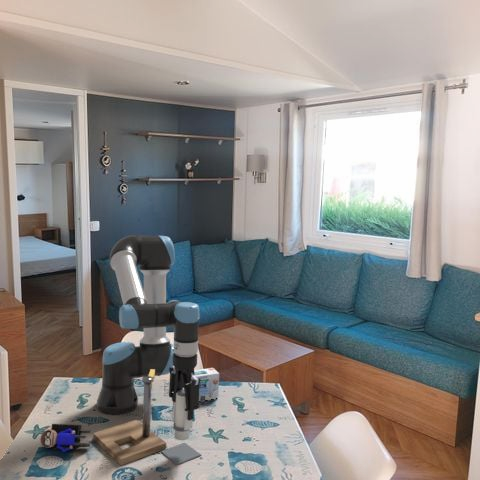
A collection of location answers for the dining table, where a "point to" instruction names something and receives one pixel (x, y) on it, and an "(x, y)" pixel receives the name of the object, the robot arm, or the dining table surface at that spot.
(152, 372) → the bar
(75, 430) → the character figurine
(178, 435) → the plug
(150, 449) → the socket board
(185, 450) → the mat
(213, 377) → the light bulb box
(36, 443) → the dining table surface
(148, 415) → the post
